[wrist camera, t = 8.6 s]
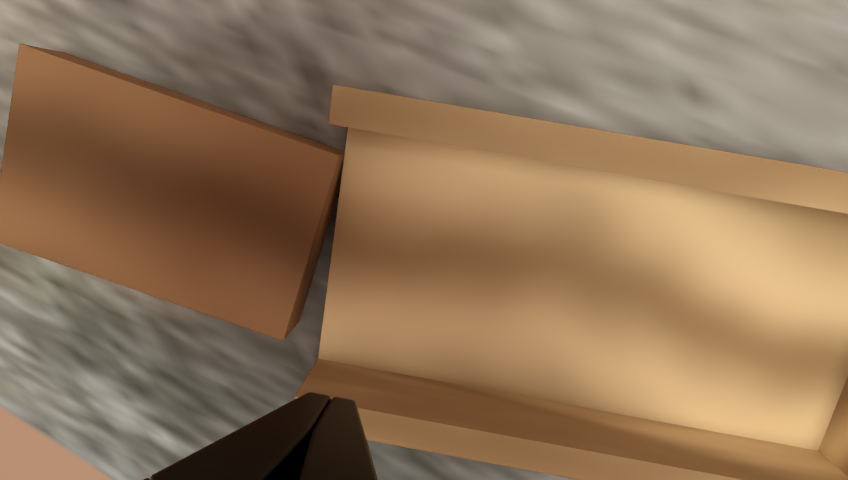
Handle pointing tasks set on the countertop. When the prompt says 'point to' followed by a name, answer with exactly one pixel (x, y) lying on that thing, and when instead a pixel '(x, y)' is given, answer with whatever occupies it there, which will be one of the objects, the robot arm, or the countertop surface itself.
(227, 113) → the cover plate
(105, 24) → the countertop surface
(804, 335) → the open box
